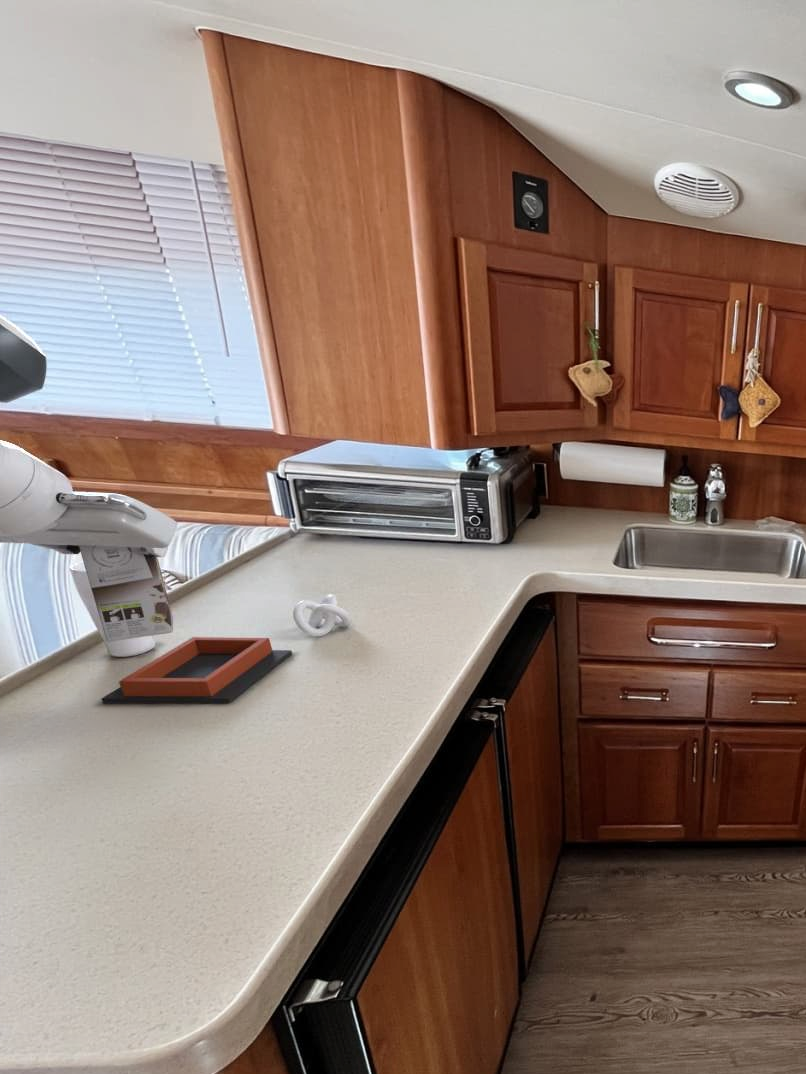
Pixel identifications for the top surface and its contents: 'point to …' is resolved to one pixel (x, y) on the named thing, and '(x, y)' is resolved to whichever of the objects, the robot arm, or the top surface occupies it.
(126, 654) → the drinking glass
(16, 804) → the top surface
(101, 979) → the top surface
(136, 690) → the dock pad
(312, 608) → the knot
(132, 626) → the coffee box
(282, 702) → the top surface
